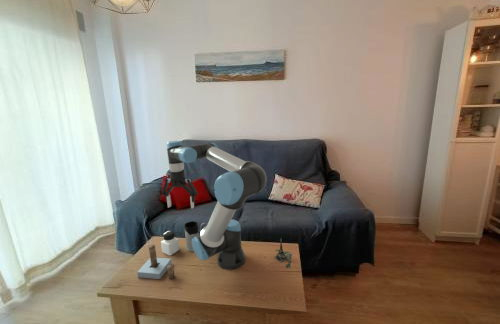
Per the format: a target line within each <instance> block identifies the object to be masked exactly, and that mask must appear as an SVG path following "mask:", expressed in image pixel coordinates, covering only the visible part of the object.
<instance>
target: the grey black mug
mask: <svg viewBox="0 0 500 324" xmlns="http://www.w3.org/2000/svg"><path fill="white" fill-rule="evenodd" d="M204 224H205V225H208V222H207V223H206V222H202V223H201V225H200V229H199V224H198V222H197V221H193V220H192V221H188V222H185V223H184V234H185V245H186V247H185V250H186V251H188V252H194V250H193V247H192V239H193V238H194V237H197V236H199V235H200V233H199V232H201V230H202V226H203V225H204Z"/></svg>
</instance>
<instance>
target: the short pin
mask: <svg viewBox="0 0 500 324" xmlns="http://www.w3.org/2000/svg"><path fill="white" fill-rule="evenodd" d="M174 269H175V268H174V264H171V265H168V266H167V271H166V272H167V277H168V278H167V279H168V280H174V278H175V270H174Z"/></svg>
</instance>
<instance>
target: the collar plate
mask: <svg viewBox="0 0 500 324" xmlns="http://www.w3.org/2000/svg"><path fill="white" fill-rule="evenodd" d="M157 264H158V266H157V268H152V266H151V260H150V257H149V258H148V260H147V261H146V262H145V263H143V265H142V266H141V267H140V269H138V270H137V271H136V272H137V277H138V278H145V279H153V280H154V279H155V280H161V279H162V277H163V276H164V275H165V273H166V272H167V266H168V265H173V264H172V259H171V258H167V257H166V258H165V257H157Z"/></svg>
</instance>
